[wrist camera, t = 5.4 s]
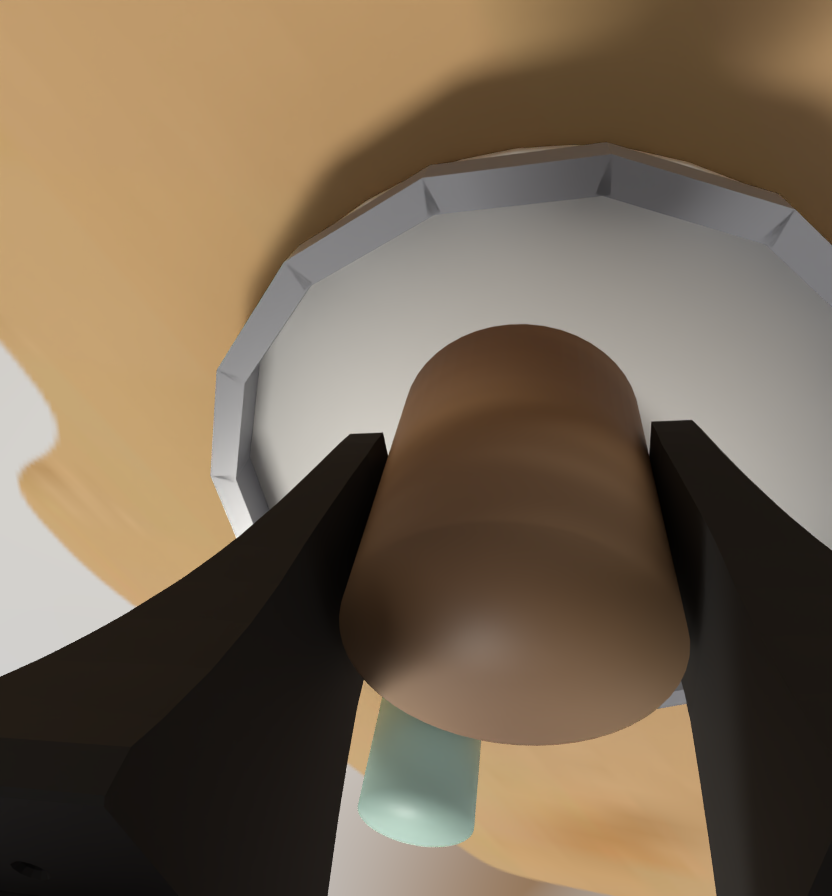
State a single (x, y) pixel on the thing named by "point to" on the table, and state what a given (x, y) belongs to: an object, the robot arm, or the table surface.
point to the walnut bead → (518, 549)
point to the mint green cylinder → (419, 781)
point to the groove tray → (546, 314)
